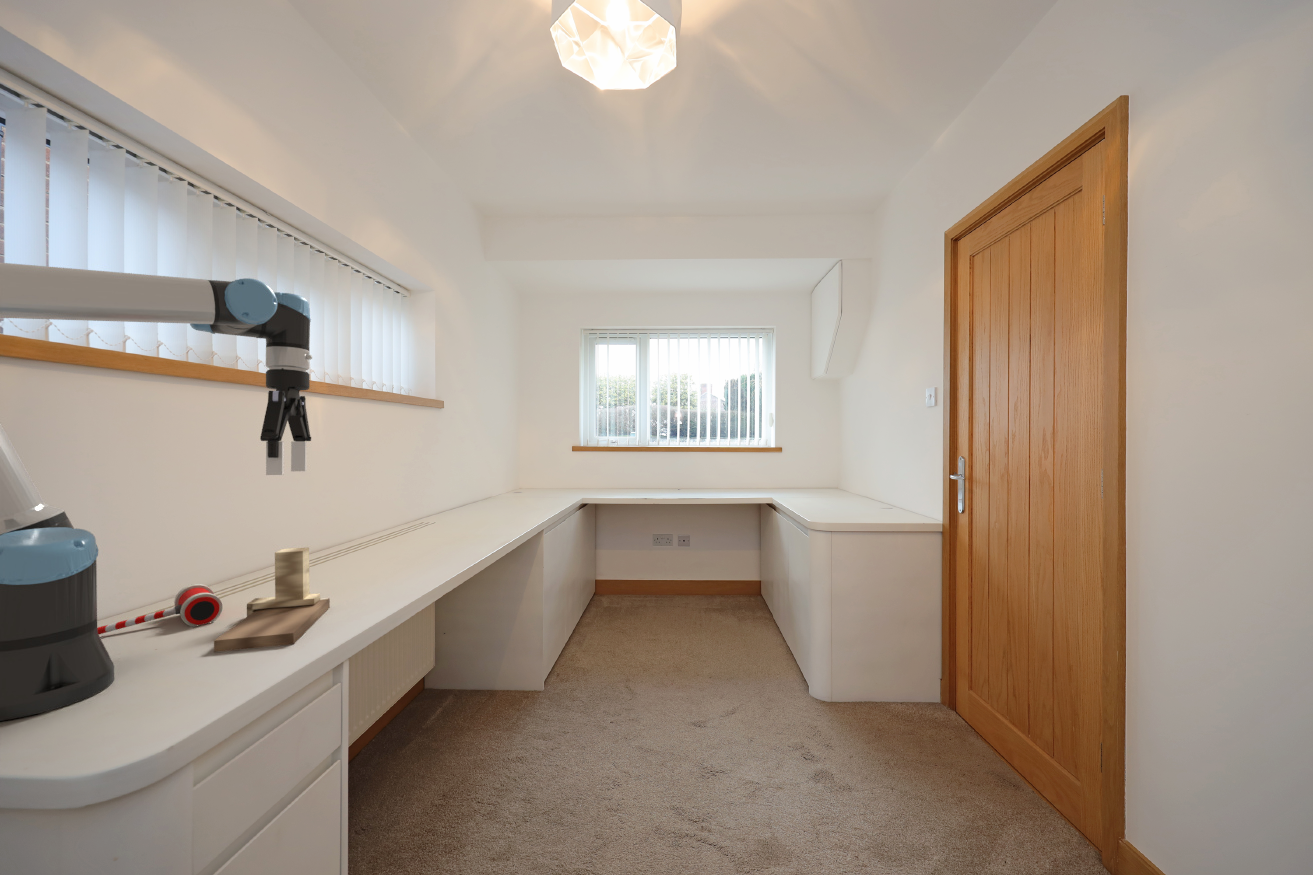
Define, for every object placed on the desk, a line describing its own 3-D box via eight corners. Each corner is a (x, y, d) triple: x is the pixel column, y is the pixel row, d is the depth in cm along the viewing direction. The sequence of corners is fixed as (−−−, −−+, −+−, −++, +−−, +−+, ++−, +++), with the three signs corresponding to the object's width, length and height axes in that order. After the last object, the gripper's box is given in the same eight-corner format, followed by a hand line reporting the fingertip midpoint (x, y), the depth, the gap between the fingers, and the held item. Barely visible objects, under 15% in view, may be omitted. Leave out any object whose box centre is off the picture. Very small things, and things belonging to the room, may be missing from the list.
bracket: (246, 619, 111) (246, 554, 111) (255, 613, 115) (254, 550, 115) (314, 613, 114) (313, 550, 114) (320, 607, 118) (319, 546, 118)
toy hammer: (56, 656, 95) (55, 619, 95) (57, 639, 103) (57, 605, 103) (223, 622, 111) (222, 591, 111) (213, 610, 119) (212, 580, 119)
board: (214, 652, 95) (213, 639, 95) (265, 612, 116) (265, 603, 116) (293, 644, 98) (293, 632, 98) (329, 607, 119) (329, 597, 119)
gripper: (287, 362, 103) (286, 476, 103) (326, 377, 127) (325, 469, 127) (240, 361, 101) (239, 476, 101) (288, 376, 125) (288, 470, 125)
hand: (287, 473), depth 114 cm, fingers open, 13 cm apart
